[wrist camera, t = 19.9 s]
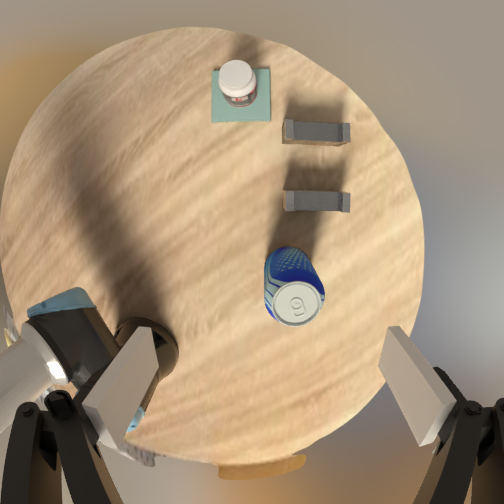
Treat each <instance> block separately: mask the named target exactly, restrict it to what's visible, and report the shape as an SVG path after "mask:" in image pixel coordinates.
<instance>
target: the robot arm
mask: <svg viewBox="0 0 504 504" xmlns="http://www.w3.org/2000/svg"><path fill="white" fill-rule="evenodd" d="M96 308H97V307H96V305H94V304H93V302H92V301H91V299H90V297H89V296H88V294H87V292H86V291H85V290H84V289H82V288H80V287H75V288H72V289H69V290H67V291H65V292H62V293H60V294H58V295H55V296H53V297H51V298H49V299H47V300H45V301H43V302H41V303H39V304H36V305H34V306H32V307H30V308H29V309H28V310H27V314H28V315H27V316H28V318H30V319H29V320H27V321H26V322H25V323H23V324H22V328H21V337H20V338H19V339H18V340H17V341H15V342H14V343H13V344H11V345H10V346H9V347H8V348H6V349H5V350H4V351H3V352H1V353H0V433H1V432H2V431H3V430H4V429H5V428H7V427H8V426H9V425H10V424H11V423H12V422H13V425H12V429H11V434H10V438H9V443H8V448H7V453H6V459H5V466H4V472H3V480H2V490H1V503H0V504H62V485H61V464H62V468H63V471H64V475H65V479H66V482H67V485H68V488H69V491H70V495H71V498H72V501H73V503H74V504H124V503H123V501H122V500H121V498H120V495H119V493H118V491H117V489H116V487H115V485H114V483H113V481H112V479H111V476H110V474H109V472H108V470H107V467H106V465H105V462H104V460H103V458H102V455H101V452H100V450H99V447H98V445H97V444H96V443H97V441H98V439H99V438H100V440H101V441H102V443H103V445H105V446H109V447H112V448H116V449H118V448H119V446H120V444H121V442H122V440H123V438H124V436H125V434H126V432H130V431H132V430H134V429H135V428H136V427H137V426H138V424H139V422H140V421H141V419H142V418H143V417H144V415H145V411H146V409H147V407H148V404H149V402H150V400H151V398H152V395H153V393H154V391H155V389H156V387H157V384H158V383H159V382H160V381H161V380H162V379H163V378H164V377H166V376H168V375H169V374H170V373H171V372H172V371H173V369H174V368H175V365H176V363H177V361H178V348H177V345H176V343H175V341H174V339H173V337H172V336H171V335H170V334H169V332H168V331H167V330H166V329H164V328H163V327H162V326H160V325H159V324H157V323H155V322H153V321H151V320H148V319H144V318H132V319H129V320H126V321H125V322H123V323H122V324H121V325H120V327H119V328H118V329H117V330H116V332H115V334H114V337H113V335H112V333H111V332H110V330H109V329H108V327H107V325H106V324H105V322H104V321H103V319H102V317H101V316H100V314H99V312H98V310H97V309H96ZM378 367H379V368H380V370H381V372H382V374H383V376H384V378H385V380H386V381H387V383H388V385H389V387H390V389H391V391H392V392H393V395H394V396H395V399H396V401H397V403H398V404H399V406H400V408H401V410H402V412H403V414H404V416H405V418H406V420H407V422H408V424H409V426H410V428H411V431H412V433H413V435H414V437H415V439H416V441H417V443H418V445H419V446H423V445H426V444H429V443H432V442H433V441H434V439H435V438H436V436H437V435H439V437H440V439H441V440H440V441H439V443H438V444H437V446H436V447H435V449H434V450H433V452H432V454H434V456H433V459H432V461H431V464H430V466H429V469H428V472H427V474H426V476H425V479H424V481H423V483H422V485H421V487H420V490H419V492H418V494H417V496H416V498H415V500H414V502H413V504H464V500H465V498H466V494H467V491H468V488H469V484H470V481H471V477H472V497H471V504H504V398H500V399H499V400H497V402H496V404H495V405H494V407H486V408H483V407H482V406H481V405H480V404H479V403H478V402H475V401H470V400H469V401H467V400H466V399H465V397H464V396H463V395H462V393H461V392H460V391H459V389H458V388H457V387H456V385H455V384H453V382H452V380H451V379H450V378H449V376H448V375H447V374H446V373H445V371H443V370H442V369H440V368H438V367H433V368H432V367H431V365H430V364H429V363H428V361H427V360H426V359H425V358H424V356H423V355H422V354H421V352H420V351H419V350H418V349H417V347H416V346H415V345H414V344H413V342H412V341H411V340H410V339H409V337H408V336H407V335H406V334H405V332H404V331H403V330H402V329H401V327H400V326H393V327H388V328H387V332H386V337H385V341H384V345H383V349H382V353H381V357H380V361H379V365H378ZM70 381H71V382H72V383H73V385H74V386H75V387H76V388H77V390H78V391H77V392H76V394H75V397H74V398H73V400H72V398H71V396H70V394H69V393H68V392H67V391H64V390H55V391H53V392H51V393H49V394H48V395H47V396H46V397H45V400H44V403H45V405H46V407H47V409H48V411H41V410H40V409H39V407H38V405H37V404H36V403H34V401H35V400H36V399H37V398H38V397H39V396H40V395H41V394H42V393H43V392H44V391H46V390H47V389H48V388H49V387H50V386H51V385H52V384H59V385H66V384H68V383H69V382H70ZM434 452H435V453H434Z"/></svg>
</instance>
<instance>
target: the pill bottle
mask: <svg viewBox="0 0 504 504" xmlns="http://www.w3.org/2000/svg"><path fill="white" fill-rule="evenodd" d="M218 83H219V87H220V89H221V91H222V94H223V96H224V98H225V100H226V101H227V102H228V103H229V104H230V105H232V106H234V107H238V108H242V107H246V106H249V105H250V104H252V103H253V102H254V100H255V99H256V96H257V80H256V76H255V73H254V72H253V70H252V69H251V67H250V66H249V64H247V63H246V62H244V61H242V60H231V61H229V62H227V63H225V64H224V65H223V66H222V67H221V69H220V71H219V79H218Z"/></svg>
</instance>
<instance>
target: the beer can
mask: <svg viewBox="0 0 504 504" xmlns="http://www.w3.org/2000/svg"><path fill="white" fill-rule="evenodd" d="M324 299H325V292H324V287H323V285H322V282H321V281H320V279H319V277H318V275H317V273H316V271H315V269H314V268H313V266H312V264H311V262H310V260H309V258H308V257H307V255H306V254H305V253H304V252H303V251H301V250H300V249H298V248H295V247H282V248H279V249H277V250H275V251H274V252H272V253H271V254H270V255H269V257H268V258H267V260H266V262H265V266H264V301H265V306H266V308H267V310H268V312H269V313H270V315H271V316H272V317H273V318H275V319H276V320H277V321H279V322H281V323H282V324H284V325H287V326H291V327H299V326H303V325H306V324H308V323H310V322H311V321H312V320H314V319H315V318H316V316H317V315H318V313H319V311H320V310H321V308H322V306H323V303H324Z"/></svg>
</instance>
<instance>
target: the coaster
mask: <svg viewBox="0 0 504 504" xmlns="http://www.w3.org/2000/svg"><path fill="white" fill-rule="evenodd" d="M252 70H253V72H254V73H255V76H256V80H257V96H256V99H255V100H254V102H253V103H252V104H250V105H249V106H246V107H242V108H238V107H234V106H232V105H230V104H229V103H228V102H227V101H226V100H225V98H224V96H223V94H222V91H221V89H220V87H219V83H218V79H219V71H212V123H227V122H270V74H269V69H252Z"/></svg>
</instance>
